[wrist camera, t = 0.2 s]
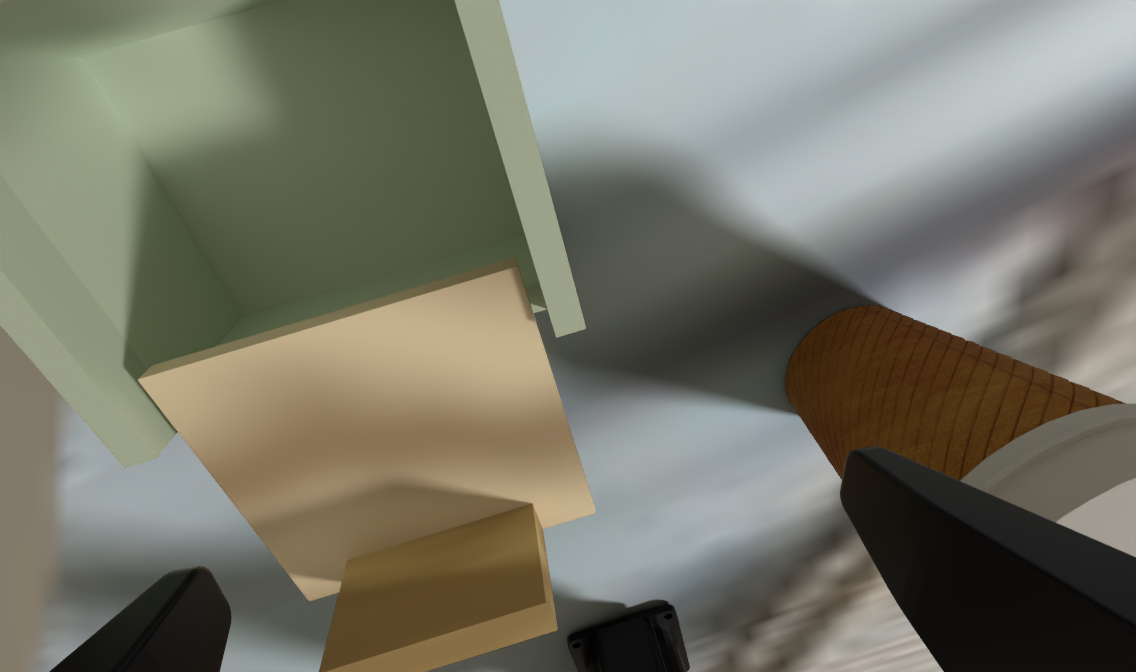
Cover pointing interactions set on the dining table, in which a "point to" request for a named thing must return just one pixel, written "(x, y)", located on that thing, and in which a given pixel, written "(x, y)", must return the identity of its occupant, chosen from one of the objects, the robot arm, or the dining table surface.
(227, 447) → the lid
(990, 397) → the disposable coffee cup
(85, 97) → the box
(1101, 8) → the dining table surface
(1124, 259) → the dining table surface
